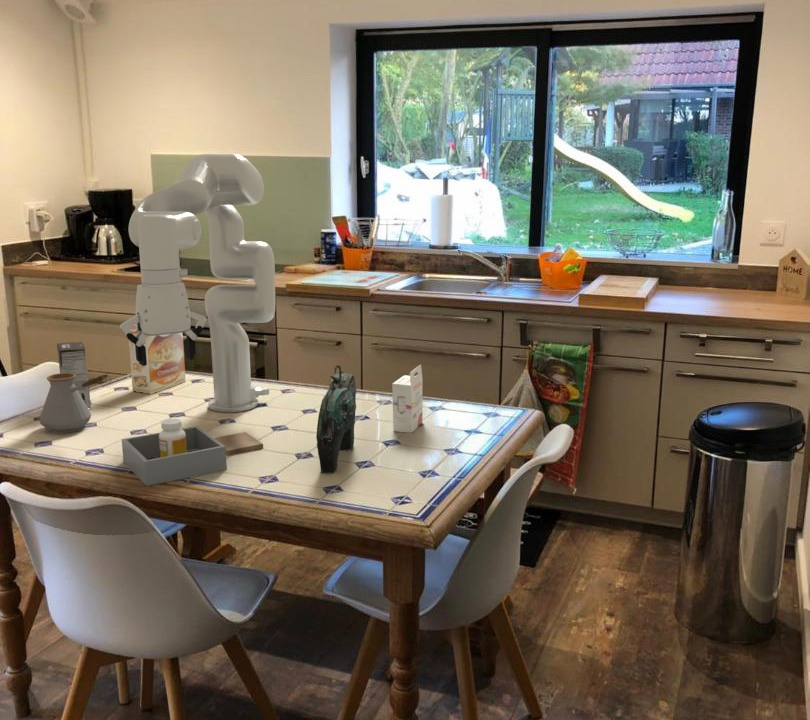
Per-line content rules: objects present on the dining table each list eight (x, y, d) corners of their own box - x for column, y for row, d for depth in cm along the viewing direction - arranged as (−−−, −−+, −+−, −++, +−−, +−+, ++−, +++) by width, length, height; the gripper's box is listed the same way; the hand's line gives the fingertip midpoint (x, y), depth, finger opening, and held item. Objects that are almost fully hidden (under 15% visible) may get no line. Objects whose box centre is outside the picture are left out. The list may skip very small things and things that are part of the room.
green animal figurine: (336, 442, 191) (334, 356, 186) (364, 444, 190) (362, 357, 185) (311, 473, 172) (308, 378, 167) (342, 475, 171) (340, 380, 166)
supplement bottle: (190, 461, 180) (187, 417, 177) (184, 470, 174) (181, 425, 172) (164, 461, 179) (161, 417, 177) (158, 470, 174) (154, 425, 172)
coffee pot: (29, 431, 200) (23, 369, 196) (69, 418, 210) (63, 359, 206) (93, 445, 190) (87, 380, 186) (132, 431, 200) (127, 369, 196)
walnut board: (245, 436, 196) (245, 432, 195) (263, 448, 187) (262, 443, 187) (203, 443, 190) (203, 439, 190) (220, 456, 182) (219, 452, 182)
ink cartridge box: (403, 421, 207) (403, 362, 203) (423, 423, 205) (423, 364, 202) (391, 431, 199) (391, 370, 195) (411, 433, 197) (411, 372, 194)
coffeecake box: (151, 394, 231) (146, 324, 226) (131, 391, 234) (125, 322, 229) (187, 381, 244) (182, 315, 240) (167, 379, 247) (162, 313, 243)
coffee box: (62, 402, 223) (56, 343, 220) (88, 400, 226) (82, 340, 222) (64, 411, 215) (58, 350, 212) (91, 408, 218) (85, 347, 214)
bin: (199, 447, 188) (197, 425, 187) (226, 469, 174) (225, 446, 173) (123, 461, 179) (121, 439, 178) (146, 486, 166) (144, 462, 165)
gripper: (196, 272, 175) (201, 353, 179) (111, 278, 166) (118, 363, 170) (209, 276, 169) (214, 359, 173) (121, 282, 160) (128, 370, 164)
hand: (166, 361), depth 172 cm, fingers open, 9 cm apart
